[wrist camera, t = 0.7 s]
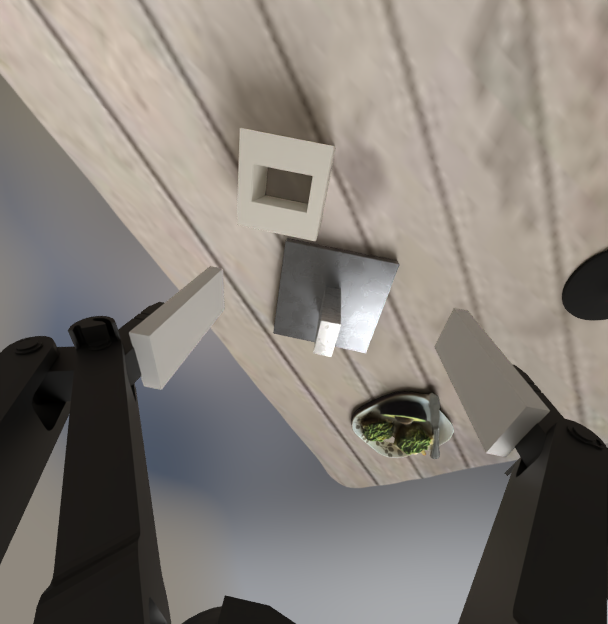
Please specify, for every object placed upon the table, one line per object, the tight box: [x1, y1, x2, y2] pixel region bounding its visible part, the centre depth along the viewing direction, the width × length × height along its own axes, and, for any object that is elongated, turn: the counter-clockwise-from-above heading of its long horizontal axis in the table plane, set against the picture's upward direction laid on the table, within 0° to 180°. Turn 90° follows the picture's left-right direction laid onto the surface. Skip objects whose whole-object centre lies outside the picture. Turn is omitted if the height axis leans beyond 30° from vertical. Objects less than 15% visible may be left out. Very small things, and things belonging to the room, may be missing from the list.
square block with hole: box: [237, 128, 335, 241], centre depth 29 cm, size 9×9×6 cm
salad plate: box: [352, 391, 454, 459], centre depth 49 cm, size 19×18×5 cm
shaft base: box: [273, 238, 399, 357], centre depth 34 cm, size 15×15×10 cm
